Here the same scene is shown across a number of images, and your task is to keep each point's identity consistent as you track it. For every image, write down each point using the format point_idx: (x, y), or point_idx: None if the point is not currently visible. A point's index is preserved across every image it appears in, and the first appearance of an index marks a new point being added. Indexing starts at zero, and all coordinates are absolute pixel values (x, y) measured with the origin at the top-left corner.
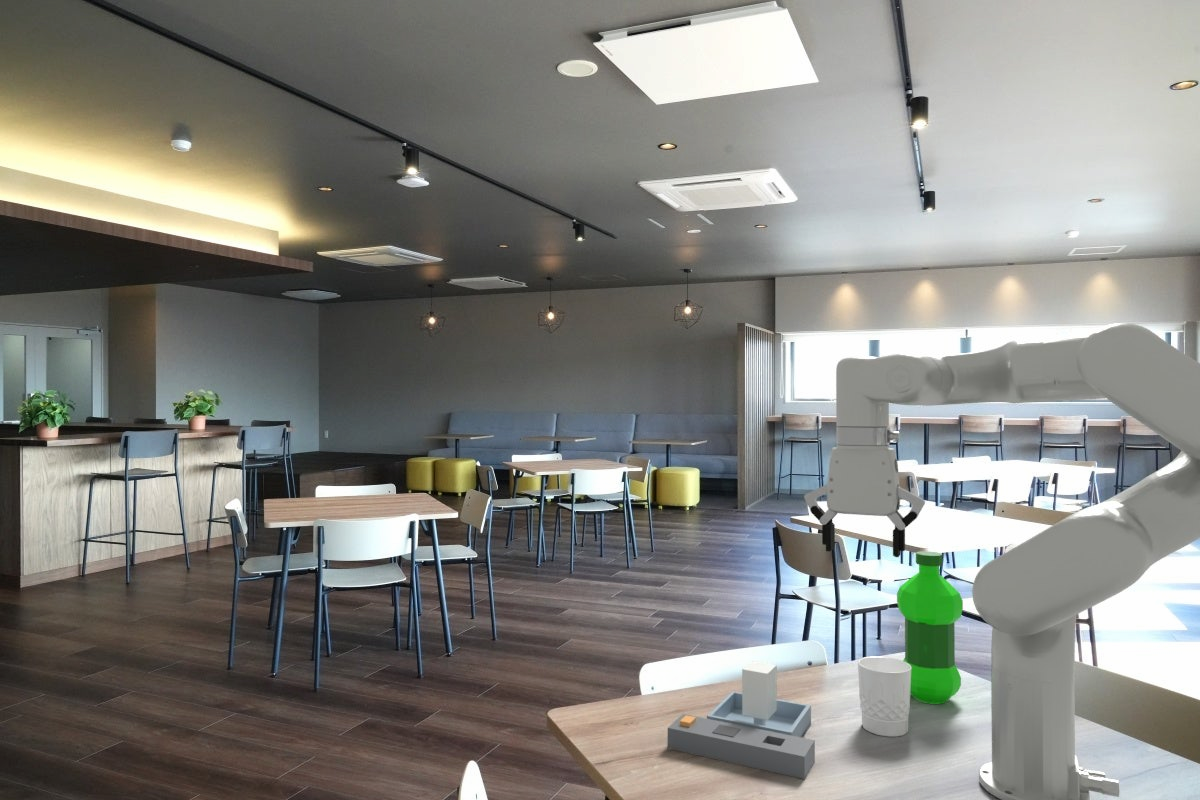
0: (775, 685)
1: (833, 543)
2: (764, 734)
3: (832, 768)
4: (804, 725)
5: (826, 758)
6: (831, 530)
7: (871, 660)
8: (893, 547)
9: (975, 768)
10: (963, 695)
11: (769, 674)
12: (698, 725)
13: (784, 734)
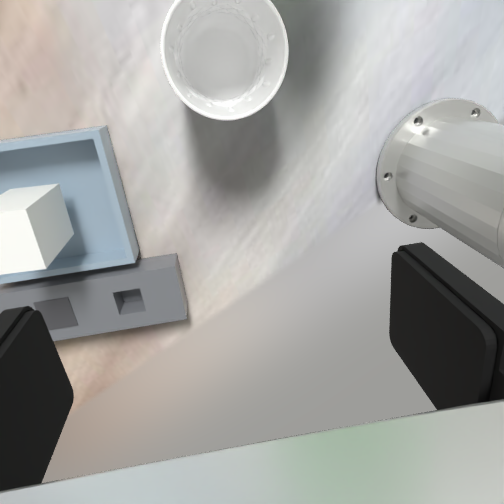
0: (44, 204)
1: (38, 358)
2: (106, 291)
3: (203, 257)
4: (116, 177)
5: (185, 234)
6: (21, 485)
7: (178, 6)
8: (413, 370)
9: (369, 138)
10: None
11: (44, 255)
12: None
13: (129, 275)
